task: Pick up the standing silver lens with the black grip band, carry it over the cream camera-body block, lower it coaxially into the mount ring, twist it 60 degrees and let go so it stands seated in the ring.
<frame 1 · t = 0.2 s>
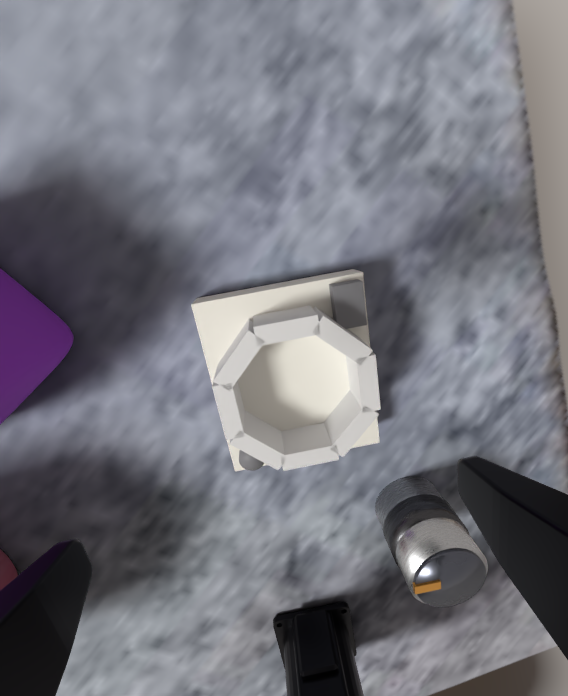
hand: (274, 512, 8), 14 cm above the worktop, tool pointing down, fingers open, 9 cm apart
lens: (406, 503, 27), on the worktop
mount block: (290, 367, 22), on the worktop
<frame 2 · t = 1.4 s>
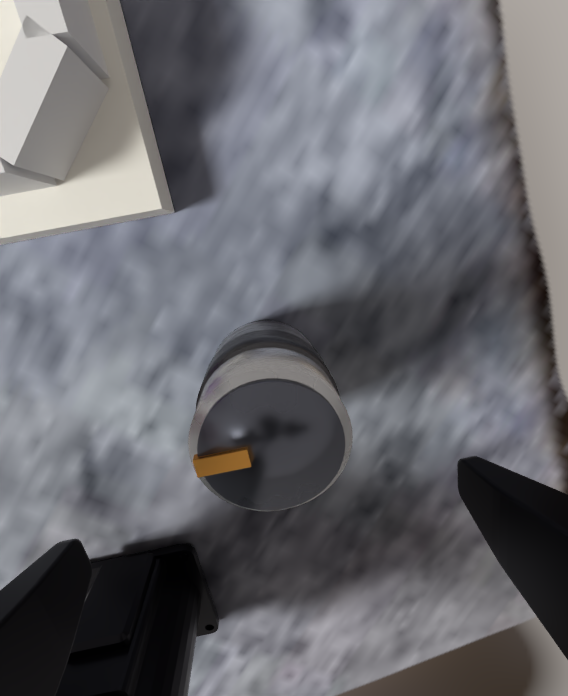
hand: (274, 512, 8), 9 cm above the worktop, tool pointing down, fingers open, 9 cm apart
lens: (265, 372, 16), on the worktop
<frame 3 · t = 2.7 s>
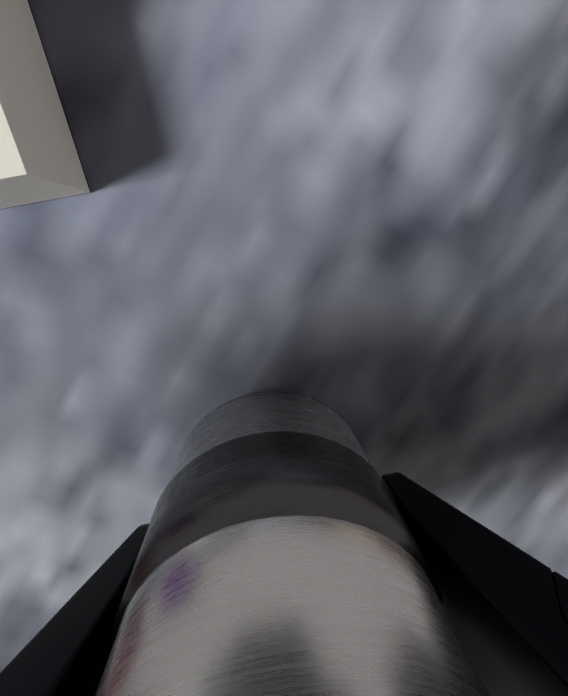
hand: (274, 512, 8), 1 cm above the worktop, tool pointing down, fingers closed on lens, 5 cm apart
lens: (271, 477, 9), on the worktop, touching gripper
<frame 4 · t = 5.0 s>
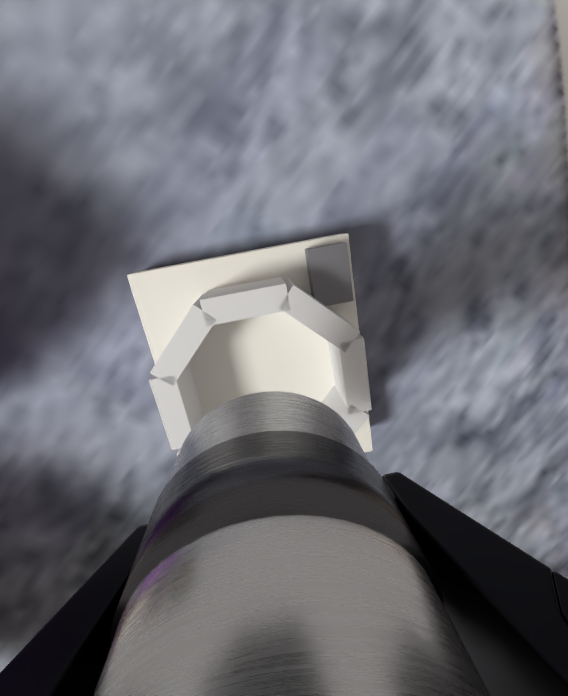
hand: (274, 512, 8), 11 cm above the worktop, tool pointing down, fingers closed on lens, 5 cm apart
lens: (271, 477, 9), point 9 cm above the worktop, touching gripper
mount block: (262, 358, 18), on the worktop
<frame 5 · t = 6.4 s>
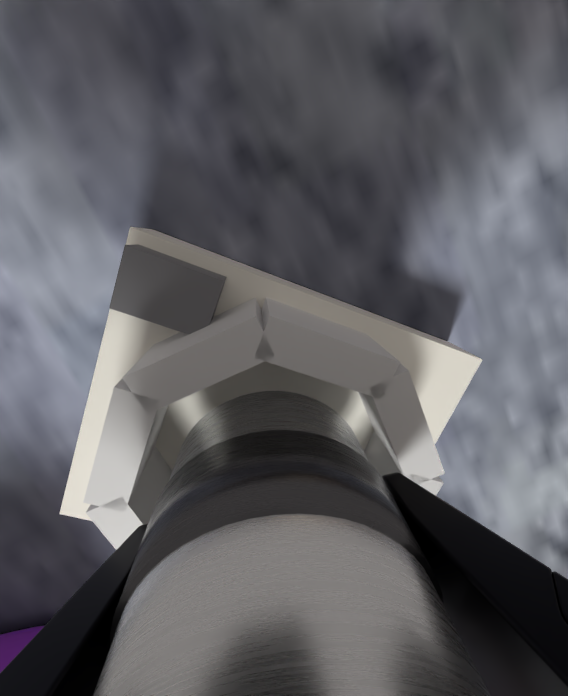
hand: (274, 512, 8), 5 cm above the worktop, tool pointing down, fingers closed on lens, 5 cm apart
lens: (271, 476, 9), point 4 cm above the worktop, touching gripper
mount block: (265, 409, 13), on the worktop
when the fingers open (5 cm above the worktop, at t = 7.4 s): lens drops 2 cm, resting on mount block.
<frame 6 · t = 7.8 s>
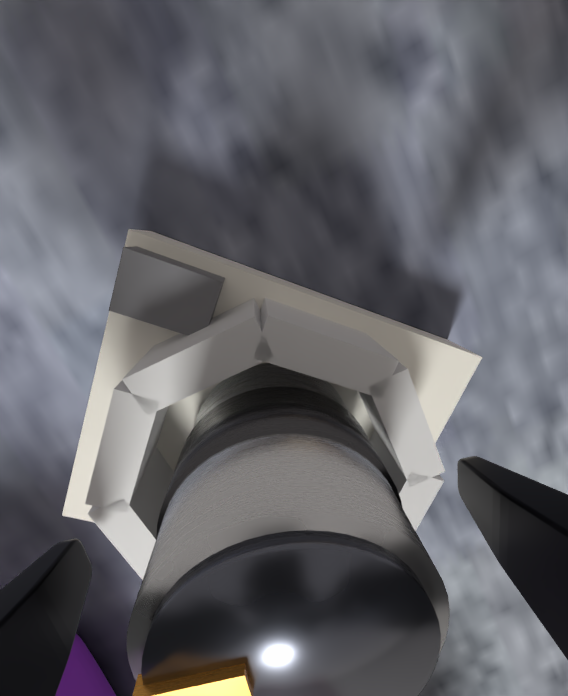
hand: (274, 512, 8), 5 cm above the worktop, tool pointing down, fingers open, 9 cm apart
lens: (273, 436, 11), point 2 cm above the worktop, touching mount block
mount block: (265, 409, 13), on the worktop
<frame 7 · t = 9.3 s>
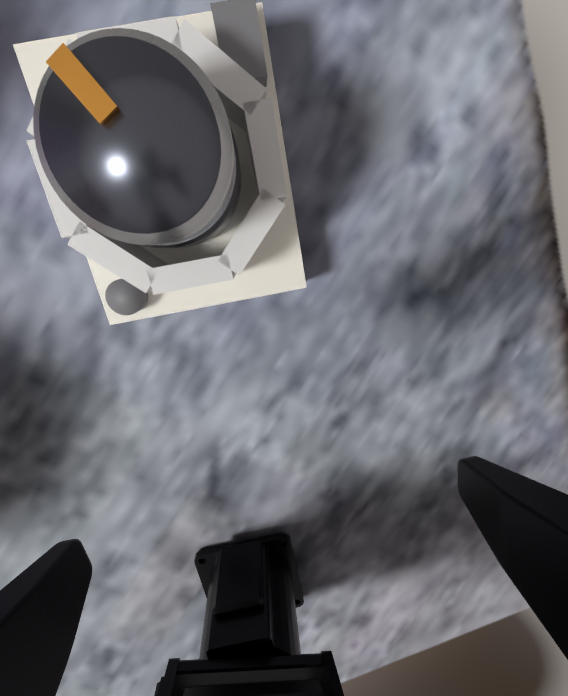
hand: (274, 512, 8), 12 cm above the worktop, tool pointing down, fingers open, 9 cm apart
lens: (181, 184, 15), point 2 cm above the worktop, touching mount block
mount block: (186, 187, 17), on the worktop
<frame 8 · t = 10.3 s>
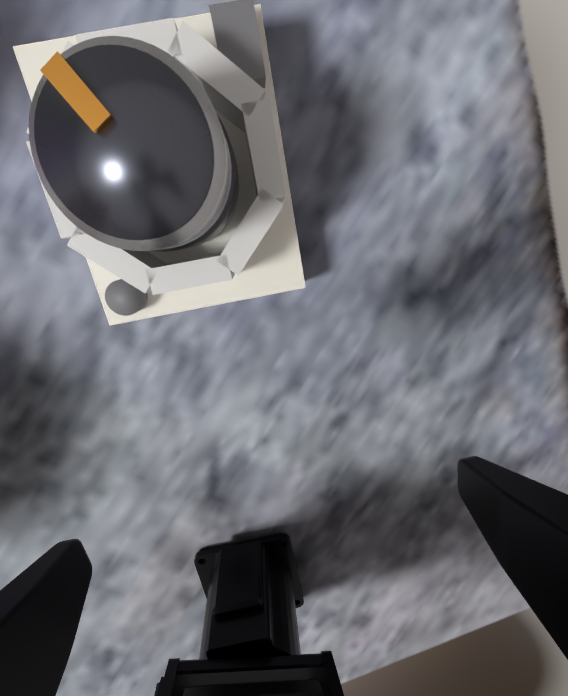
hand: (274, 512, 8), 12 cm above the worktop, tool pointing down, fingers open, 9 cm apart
lens: (180, 184, 15), point 2 cm above the worktop, touching mount block
mount block: (185, 188, 17), on the worktop
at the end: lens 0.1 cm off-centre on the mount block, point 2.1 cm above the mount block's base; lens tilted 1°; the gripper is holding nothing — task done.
